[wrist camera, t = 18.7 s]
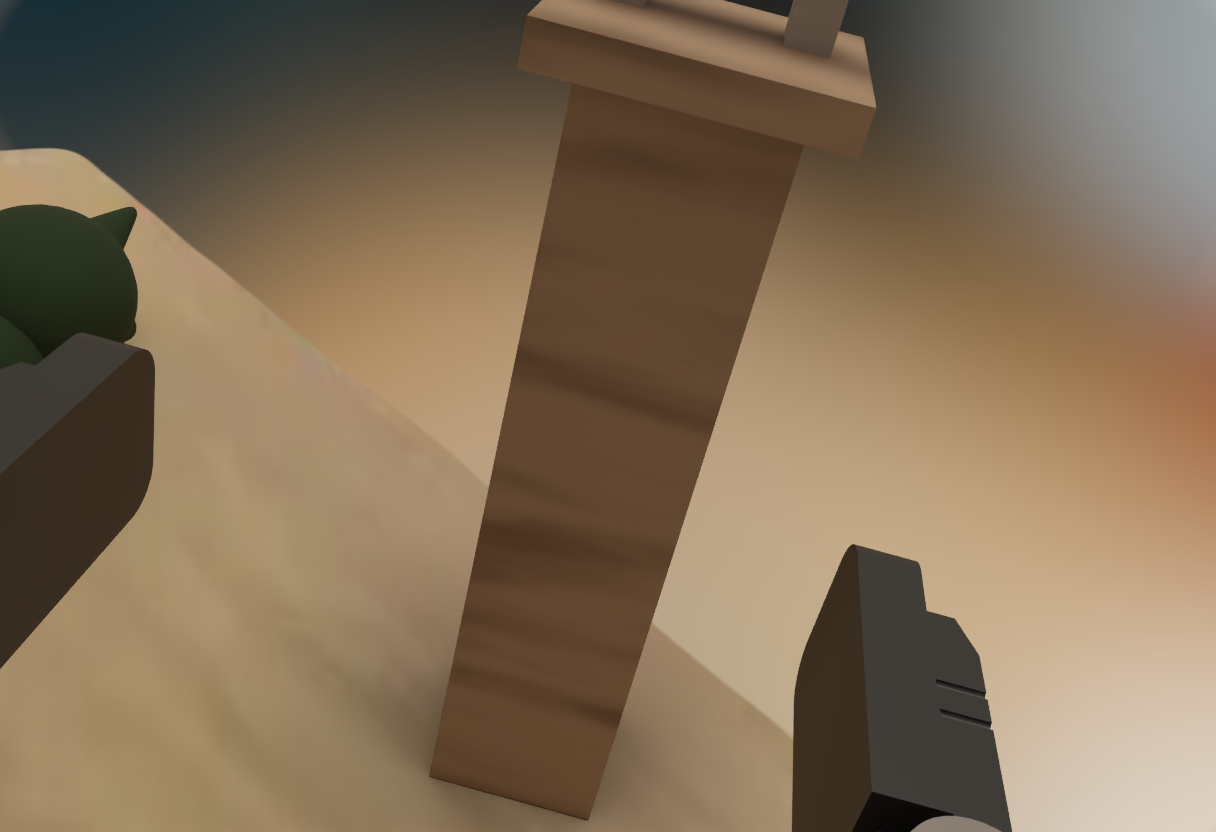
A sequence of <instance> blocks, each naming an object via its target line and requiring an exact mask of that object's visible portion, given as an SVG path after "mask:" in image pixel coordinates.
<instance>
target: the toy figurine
mask: <svg viewBox="0 0 1216 832" xmlns="http://www.w3.org/2000/svg"><path fill="white" fill-rule="evenodd" d="M136 217H137V211H136V209H135V208H134V207H126V208H122V209H119V210H116V211H112V212H109V213H106V214H103V215H99V216H96V217H93V218H88V217H86V216H84V215H82V214H80V213H78V212H75V211H72V210H69V209H65V208H62V207H57V206H49V205H42V204H40V205H22V206H16V207H11V208H7V209H4V210H1V211H0V369H3V368H5V367H8V366H11V365H14V364H16V363H19V362H24V363H28V364H31V365H35V366H36V365H37V364H38V363H39V362H41V361H42V360H43V359H44V358H46V357H47V356H48V355H49V354H51V353H52V352H53V351H54V350H56V349H57V348H58V347H59V346H61V345H62V344H63V343H64V342H66V341H67V340H68V339H69V338H71V337H72V336H74V335H75V334H78V333H87V334H90V335H94V336H98V337H102V338H105V339H109V340H113V341H116V342H120V343H124V342H125V341H127V340H129V339H131V338H132V337H133V336H134V335H135V333H136V323H135V317H136V312H137V302H138V290H137V283H136V280H135V276H134V273H133V269H132V267H131V264H130V262H129V259H128V258H127V256H126V254H125V252H124V251H123V249H124V247H125V244H126V242H127V240H128V237H129V235H130V232H131V230H132V227H133V225H134V222H135V220H136Z"/></svg>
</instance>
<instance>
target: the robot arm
mask: <svg viewBox="0 0 1216 832" xmlns="http://www.w3.org/2000/svg"><path fill="white" fill-rule="evenodd" d="M154 392H155V365H154V360H153V357H152V355H151V353H150V352H149V351H148V350H145V349H142V348H138V347H135V346H131V345H127V344H124V343H120V342H116V341H113V340H109V339H105V338H102V337H98V336H94V335H90V334H87V333H78V334H75V335H74V336H72V337H71V338H69V339H68V340H67V341H66V342H64V343H63V344H62V345H61V346H59V347H58V348H57V349H56V350H54V351H53V352H52V353H51V354H49V355H48V356H47V357H46V358H44V359H43V360H42V361H41V362H39V363H38V364H37V365H36V366H35V365H31V364H28V363H24V362H19V363H16V364H14V365H11V366H8V367H5V368H3V369H0V669H1V667H2V666H3V665H4V664H5V663H6V662H7V661H8V659H9V658H10V657H11V656H12V655H13V654H14V652H15V651H16V650H17V649H18V648H19V647H20V646H21V644H22V643H23V642H24V641H25V640H26V639H27V638H28V636H29V635H30V634H31V633H32V632H33V631H34V630H35V628H36V627H37V626H38V625H39V624H40V623H41V622H42V620H43V619H44V618H45V617H46V616H47V615H48V614H49V612H50V611H51V610H52V609H53V608H54V607H55V606H56V604H57V603H58V602H59V601H60V600H61V599H62V598H63V596H64V595H65V594H66V593H67V592H68V591H69V590H70V588H71V587H72V586H73V585H74V584H75V583H76V582H77V580H78V579H79V578H80V577H81V576H82V575H83V574H84V572H85V571H86V570H87V569H88V568H89V567H90V566H91V564H92V563H93V562H94V561H95V560H96V559H97V558H98V556H99V555H100V554H101V553H102V552H103V551H104V549H105V548H106V547H107V546H108V545H109V544H110V543H111V541H112V540H113V539H114V538H115V537H116V536H117V535H118V533H119V532H120V531H121V530H122V529H123V528H124V527H125V525H126V524H127V523H128V522H129V521H130V520H131V519H132V517H133V516H134V515H135V513H136V512H137V510H138V509H139V507H140V505H141V503H142V501H143V499H144V497H145V494H146V492H147V489H148V486H149V482H150V479H151V474H152V468H153V441H154ZM985 694H986V690H985V684H984V679H983V674H982V668H981V663H980V657H979V655H978V653H977V652H976V650H975V649H974V647H973V646H972V644H971V643H970V641H969V640H968V638H967V637H966V635H965V634H964V632H963V631H962V629H961V627H960V626H959V625H958V623H957V622H956V620H955V619H954V618H950V617H947V616H943V615H939V614H935V613H932V612H928V611H926V603H925V596H924V589H923V581H922V574H921V568H920V565H919V563H918V562H917V561H913V560H909V559H906V558H902V557H898V556H894V555H891V554H887V553H884V552H880V551H876V550H873V549H869V548H865V547H862V546H858V545H854V544H853V545H851V546H850V547H849V548H848V549H847V551H846V552H845V554H844V556H843V558H842V561H841V563H840V565H839V567H838V570H837V572H836V575H835V577H834V580H833V582H832V584H831V587H830V589H829V591H828V594H827V596H826V599H825V601H824V603H823V606H822V608H821V611H820V613H819V615H818V618H817V620H816V623H815V625H814V627H813V630H812V632H811V635H810V637H809V639H808V642H807V644H806V647H805V650H804V653H803V656H802V659H801V663H800V667H799V671H798V675H797V681H796V687H795V695H794V734H793V799H792V832H1012V828H1011V823H1010V818H1009V812H1008V807H1007V802H1006V796H1005V791H1004V786H1003V781H1002V775H1001V770H1000V765H999V759H998V753H997V749H996V744H995V738H994V732H993V730H990V727H991V723H992V721H991V716H990V711H989V706H988V700H986V699H985Z"/></svg>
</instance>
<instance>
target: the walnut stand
mask: <svg viewBox="0 0 1216 832" xmlns="http://www.w3.org/2000/svg"><path fill="white" fill-rule="evenodd" d="M848 1H849V0H794V1H793V4H792V8H791V11H790V15H789V18H787V17H784V16H779V15H776V14H772V13H768V12H764V11H761V10H757V9H753V8H750V7H746V6H742V5H738V4H735V3H731V2H727V1H723V0H542V1H541V2H540V3H539V4H538V5H537V6H536V7H535V8H534V9H533V10H532V11H531V12H530V13H529V14H528V15H527V18H526V23H525V28H524V34H523V40H522V45H521V51H520V56H519V62H518V69H522V70H526V71H529V72H533V73H537V74H541V75H544V76H548V77H552V78H556V79H559V80H563V81H567V82H571V83H572V87H571V92H570V97H569V102H568V107H567V112H566V117H565V121H564V126H563V131H562V136H561V141H560V145H559V150H558V156H557V160H556V165H555V170H554V175H553V179H552V184H551V189H550V194H549V199H548V204H547V208H546V214H545V219H544V223H543V228H542V233H541V238H540V242H539V248H538V252H537V257H536V262H535V267H534V271H533V276H532V281H531V286H530V291H529V296H528V301H527V305H526V310H525V315H524V320H523V325H522V330H521V334H520V339H519V345H518V349H517V354H516V359H515V364H514V368H513V374H512V378H511V383H510V388H509V393H508V397H507V402H506V407H505V412H504V417H503V422H502V427H501V431H500V436H499V441H498V446H497V451H496V456H495V461H494V465H493V471H492V475H491V480H490V485H489V489H488V494H487V499H486V504H485V509H484V514H483V519H482V523H481V528H480V533H479V538H478V543H477V548H476V552H475V557H474V562H473V567H472V572H471V577H470V582H469V586H468V591H467V596H466V601H465V606H464V611H463V615H462V620H461V625H460V630H459V635H458V640H457V645H456V649H455V654H454V659H453V664H452V669H451V674H450V678H449V683H448V688H447V693H446V698H445V703H444V708H443V712H442V717H441V722H440V727H439V732H438V737H437V741H436V746H435V751H434V756H433V761H432V766H431V771H430V775H429V776H431V777H435V778H438V779H442V780H445V781H449V782H453V783H456V784H460V785H463V786H467V787H471V788H474V789H478V790H481V791H485V792H489V793H492V794H496V795H500V796H503V797H507V798H510V799H514V800H518V801H521V802H525V803H528V804H532V805H536V806H539V807H543V808H546V809H550V810H554V811H557V812H561V813H565V814H568V815H572V816H575V817H579V818H583V819H586V820H588V819H589V816H590V812H591V809H592V806H593V803H594V800H595V797H596V794H597V791H598V787H599V784H600V781H601V778H602V775H603V772H604V769H605V766H606V762H607V759H608V756H609V753H610V750H611V747H612V744H613V741H614V737H615V734H616V731H617V728H618V725H619V722H620V719H621V716H622V712H623V709H624V706H625V703H626V700H627V697H628V694H629V691H630V687H631V684H632V681H633V678H634V675H635V672H636V669H637V666H638V662H639V659H640V656H641V653H642V650H643V647H644V644H645V641H646V638H647V634H648V631H649V628H650V625H651V622H652V618H653V616H654V613H655V609H656V606H657V603H658V600H659V597H660V594H661V590H662V588H663V584H664V581H665V578H666V575H667V572H668V568H669V566H670V562H671V559H672V556H673V553H674V550H675V547H676V544H677V541H678V538H679V534H680V531H681V528H682V525H683V522H684V519H685V516H686V512H687V509H688V506H689V503H690V500H691V497H692V493H693V491H694V488H695V484H696V481H697V478H698V475H699V472H700V469H701V466H702V463H703V459H704V456H705V453H706V450H707V447H708V444H709V441H710V438H711V434H712V431H713V428H714V425H715V422H716V419H717V416H718V413H719V409H720V406H721V403H722V400H723V397H724V394H725V391H726V387H727V384H728V381H729V378H730V375H731V372H732V369H733V366H734V363H735V359H736V356H737V353H738V350H739V347H740V344H741V341H742V337H743V334H744V331H745V328H746V325H747V322H748V319H749V316H750V312H751V310H752V306H753V303H754V300H755V297H756V294H757V291H758V287H759V285H760V281H761V278H762V275H763V272H764V269H765V266H766V263H767V259H768V256H769V253H770V250H771V247H772V244H773V241H774V237H775V235H776V231H777V228H778V225H779V222H780V219H781V215H782V212H783V210H784V206H785V203H786V200H787V197H788V194H789V191H790V188H791V185H792V181H793V178H794V175H795V172H796V169H797V166H798V163H799V160H800V156H801V153H802V150H803V147H804V145H806V146H810V147H814V148H818V149H821V150H825V151H829V152H832V153H836V154H840V155H844V156H848V157H851V158H855V159H859V157H860V154H861V151H862V148H863V145H864V142H865V139H866V137H867V134H868V130H869V128H870V125H871V122H872V119H873V116H874V114H875V111H876V104H875V98H874V93H873V87H872V82H871V77H870V71H869V66H868V60H867V55H866V50H865V44H864V39H863V37H859V36H855V35H851V34H848V33H844V32H840V31H839V29H840V26H841V23H842V19H843V16H844V13H845V10H846V7H847V4H848Z"/></svg>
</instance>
